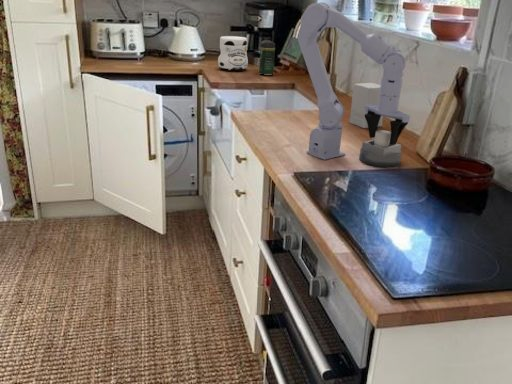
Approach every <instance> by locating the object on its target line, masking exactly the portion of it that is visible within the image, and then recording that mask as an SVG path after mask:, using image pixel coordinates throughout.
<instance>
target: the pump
mask: <svg viewBox="0 0 512 384" xmlns="http://www.w3.org/2000/svg"><path fill="white" fill-rule="evenodd" d="M390 137H391V130H389V131H388V130H384V129H377V131H376V133H375V137H374V139H375V140H374V139H373V140H374V145H377V146H380V147H383V148H385V147H389V142H390Z"/></svg>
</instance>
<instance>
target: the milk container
mask: <svg viewBox="0 0 512 384" xmlns="http://www.w3.org/2000/svg"><path fill="white" fill-rule="evenodd" d="M247 51H248V38H247V37H245V36H235V35H224V36H222V35H221V36H220V37H219V53H218V58H217V64H218V65H217V66H218V67H219V68H220V69H221V68H222V69H221V70H224V69H231V70H240V71H244V70H246V69H247V68H248V65H249V59H248V53H247Z"/></svg>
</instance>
